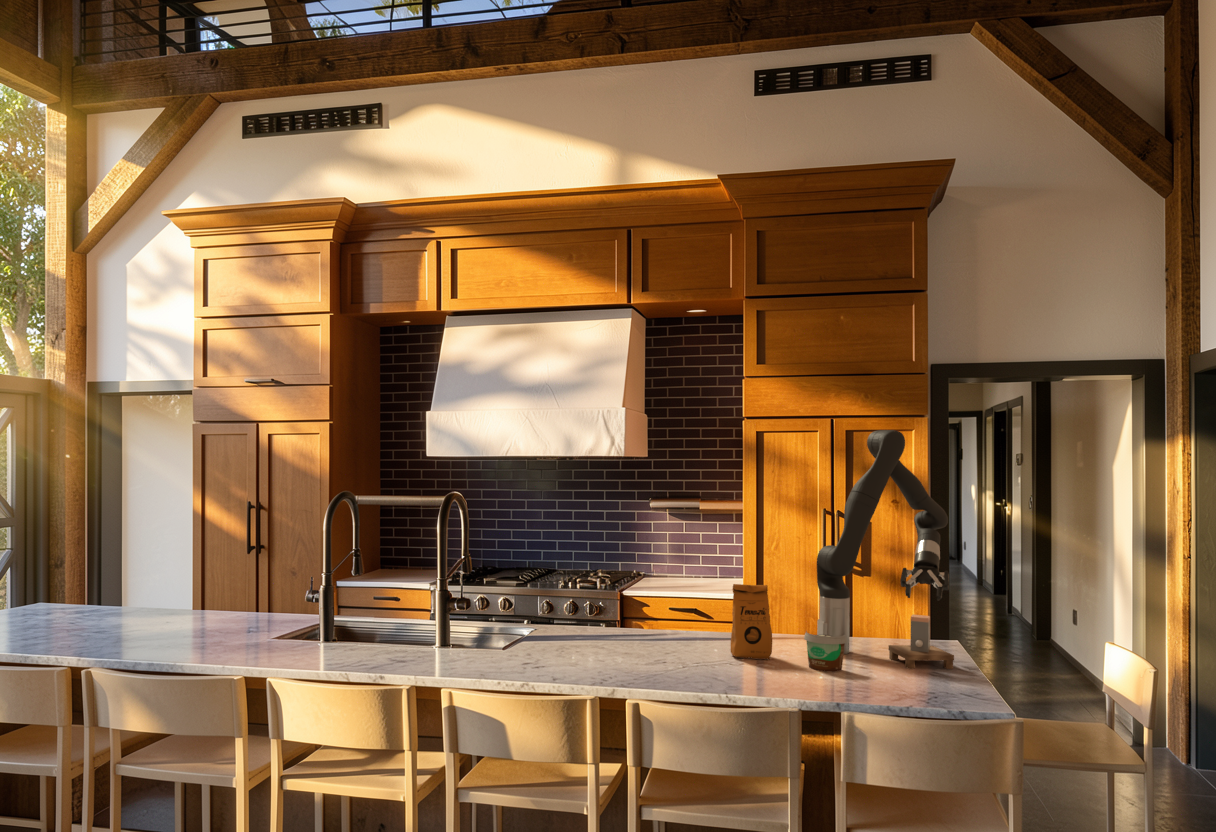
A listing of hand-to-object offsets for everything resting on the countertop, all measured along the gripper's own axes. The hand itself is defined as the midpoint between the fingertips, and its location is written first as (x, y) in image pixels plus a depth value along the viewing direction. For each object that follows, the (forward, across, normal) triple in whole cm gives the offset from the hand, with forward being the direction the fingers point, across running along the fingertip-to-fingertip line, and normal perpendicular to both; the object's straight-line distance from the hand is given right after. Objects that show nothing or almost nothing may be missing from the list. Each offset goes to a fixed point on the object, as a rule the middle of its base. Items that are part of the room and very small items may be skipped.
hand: (923, 597), depth 266 cm
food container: (+36, -24, -9) cm, 44 cm away
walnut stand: (+18, 0, +8) cm, 20 cm away
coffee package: (+32, -47, -5) cm, 57 cm away
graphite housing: (+15, 0, +5) cm, 16 cm away
